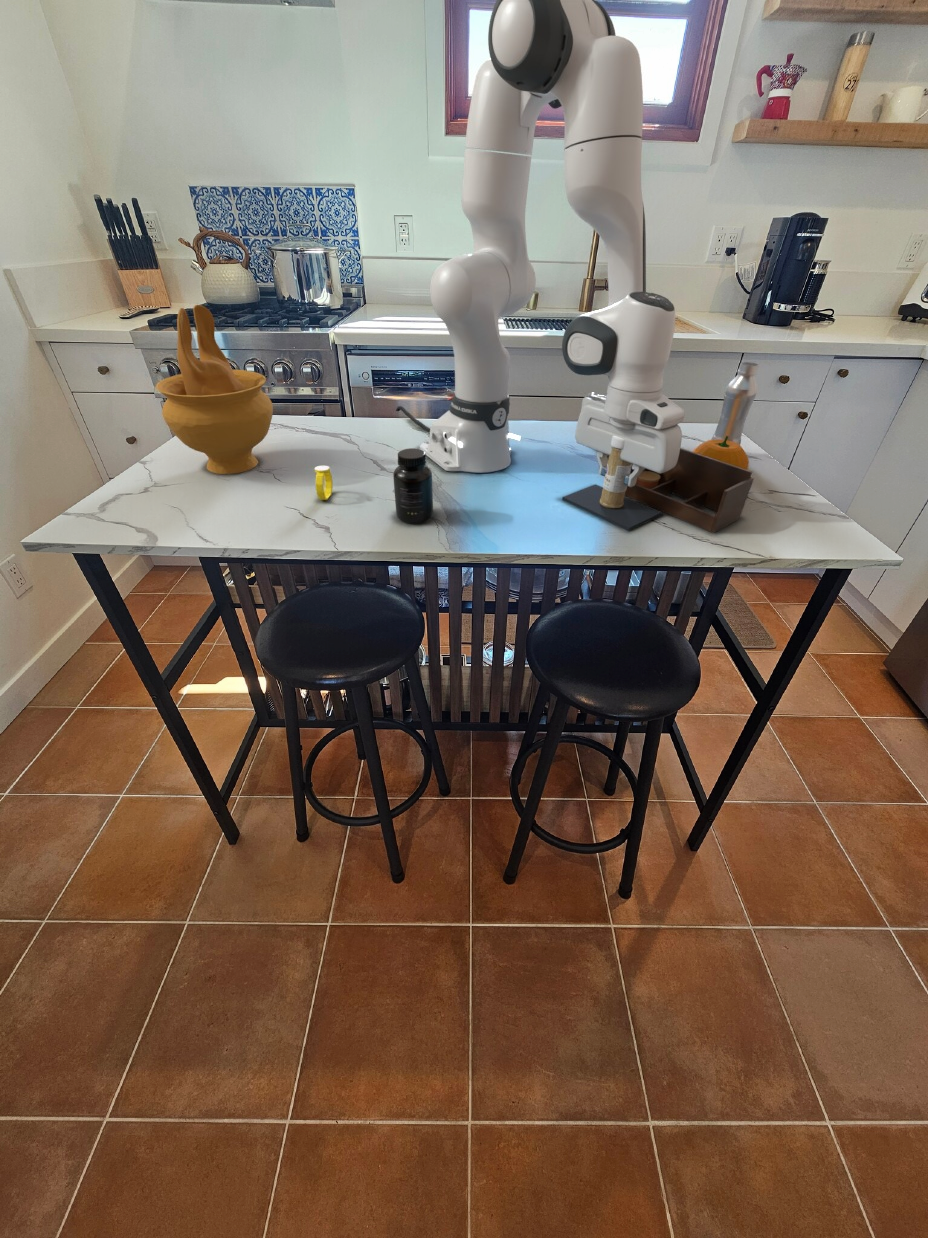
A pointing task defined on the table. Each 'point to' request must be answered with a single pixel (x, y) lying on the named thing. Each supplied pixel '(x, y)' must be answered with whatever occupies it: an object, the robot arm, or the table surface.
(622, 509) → the rubber mat
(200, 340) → the decorative bowl
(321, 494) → the watch
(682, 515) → the spice rack
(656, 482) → the spice tin
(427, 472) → the supplement bottle
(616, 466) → the sprinkles bottle
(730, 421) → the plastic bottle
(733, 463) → the fruit
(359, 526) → the table surface
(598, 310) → the robot arm
